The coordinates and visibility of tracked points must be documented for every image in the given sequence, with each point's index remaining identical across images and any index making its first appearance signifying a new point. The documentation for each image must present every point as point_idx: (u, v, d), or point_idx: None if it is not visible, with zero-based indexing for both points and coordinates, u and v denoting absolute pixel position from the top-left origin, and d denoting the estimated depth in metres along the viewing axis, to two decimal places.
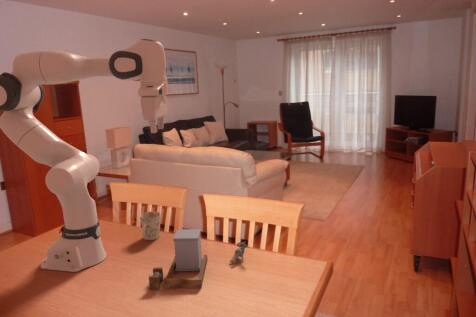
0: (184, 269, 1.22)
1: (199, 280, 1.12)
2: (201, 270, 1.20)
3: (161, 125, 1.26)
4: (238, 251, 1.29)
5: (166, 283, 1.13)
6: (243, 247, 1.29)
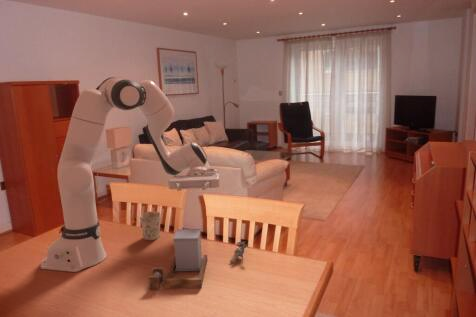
0: (184, 269, 1.22)
1: (199, 280, 1.12)
2: (201, 270, 1.20)
3: (181, 188, 1.35)
4: (238, 251, 1.29)
5: (166, 283, 1.13)
6: (243, 247, 1.29)
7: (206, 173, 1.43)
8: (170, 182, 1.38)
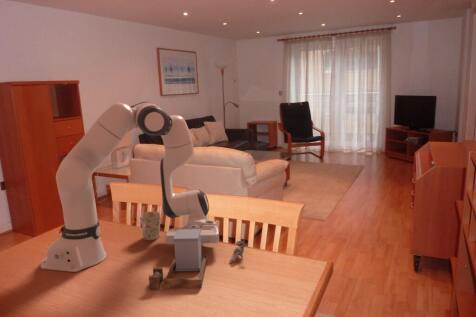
0: (184, 269, 1.22)
1: (199, 280, 1.12)
2: (201, 270, 1.20)
3: None
4: (238, 250, 1.30)
5: (166, 283, 1.13)
6: (242, 246, 1.30)
7: (205, 226, 1.38)
8: (167, 237, 1.33)
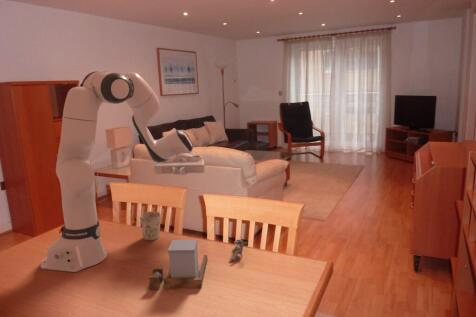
0: None
1: (199, 280, 1.12)
2: (201, 270, 1.20)
3: None
4: (237, 248, 1.31)
5: (166, 283, 1.13)
6: (242, 244, 1.31)
7: (191, 159, 1.47)
8: (156, 167, 1.41)
